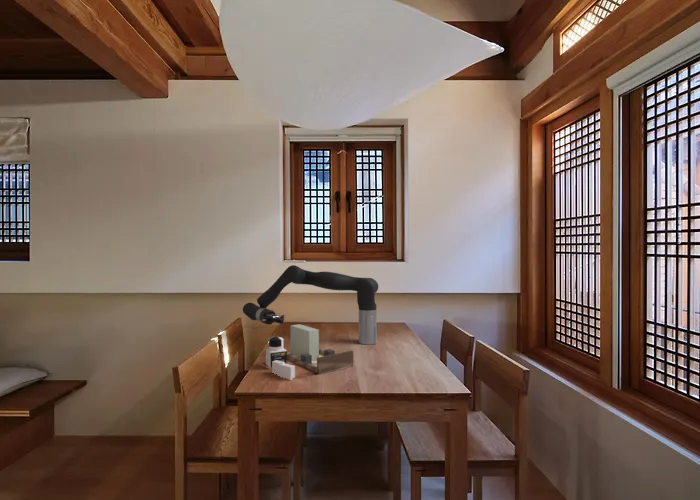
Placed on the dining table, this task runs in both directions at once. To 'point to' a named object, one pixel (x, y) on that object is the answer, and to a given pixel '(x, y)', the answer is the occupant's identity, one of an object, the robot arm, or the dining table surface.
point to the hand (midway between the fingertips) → (281, 321)
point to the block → (304, 341)
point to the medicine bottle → (275, 351)
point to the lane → (325, 362)
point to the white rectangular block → (283, 369)
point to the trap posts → (308, 357)
